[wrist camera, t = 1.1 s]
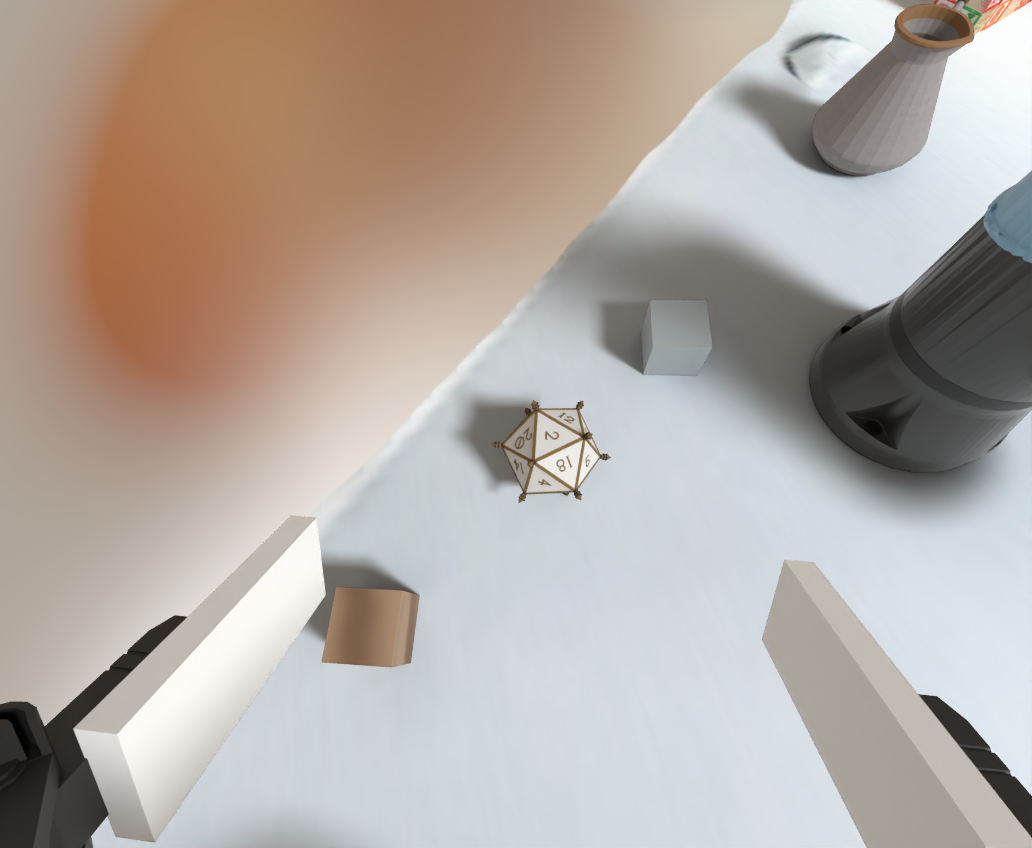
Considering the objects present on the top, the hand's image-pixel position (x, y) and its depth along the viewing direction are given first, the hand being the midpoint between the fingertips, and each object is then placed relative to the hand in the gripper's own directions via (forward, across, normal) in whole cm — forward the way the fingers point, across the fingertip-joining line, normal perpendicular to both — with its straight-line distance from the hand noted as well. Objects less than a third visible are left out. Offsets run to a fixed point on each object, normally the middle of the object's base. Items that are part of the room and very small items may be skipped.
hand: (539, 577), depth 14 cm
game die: (+28, 0, -10) cm, 30 cm away
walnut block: (+18, -12, -20) cm, 30 cm away
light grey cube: (+36, +11, 0) cm, 38 cm away
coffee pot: (+58, +36, +23) cm, 72 cm away
